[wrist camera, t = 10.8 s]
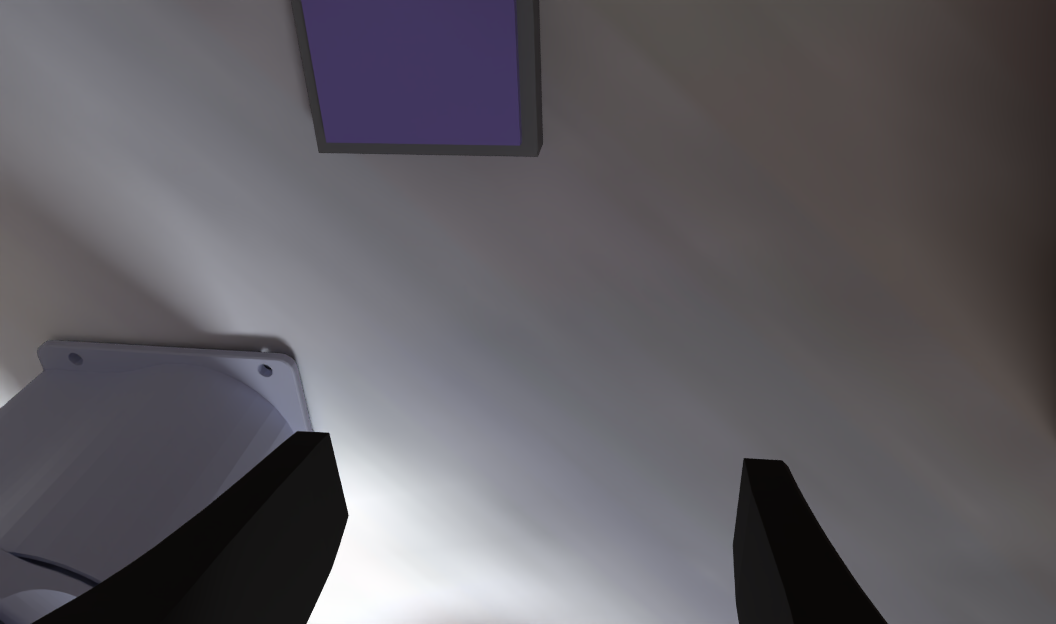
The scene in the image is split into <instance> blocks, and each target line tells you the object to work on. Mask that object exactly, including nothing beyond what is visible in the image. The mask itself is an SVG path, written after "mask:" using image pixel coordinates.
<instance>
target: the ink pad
mask: <svg viewBox="0 0 1056 624" xmlns="http://www.w3.org/2000/svg"><path fill="white" fill-rule="evenodd" d="M291 4H292V9H293V15H294V20H295V26H296V31H297V36H298V42H299V47H300V53H301V58H302V64H303V69H304V75H305V80H306V85H307V91H308V96H309V102H310V107H311V113H312V118H313V124H314V129H315V134H316V140H317V145H318V151H319V153H356V154H412V155H469V156H525V157H538V155H539V153H540V150H541V147H542V145H543V128H542V91H541V54H540V17H539V0H291Z"/></svg>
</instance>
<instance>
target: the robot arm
mask: <svg viewBox="0 0 1056 624" xmlns="http://www.w3.org/2000/svg"><path fill="white" fill-rule="evenodd" d="M37 354H38V357H39V360H40V362H41V364H42V366H43V369H44V371H43V372H42V373H41V374H39V375H38V376H37V377H36V378H35V379H34V380H32V381H31V382H30V383H29V384H28V385H27V386H26V387H24V388H23V389H22V390H21V391H20V392H19V393H18V394H16V395H15V396H14V397H13V398H12V399H11V400H9V401H8V402H7V403H6V404H5V405H4V406H3V407H1V408H0V624H307V621H308V619H309V617H310V615H311V613H312V611H313V609H314V607H315V604H316V602H317V600H318V598H319V596H320V593H321V591H322V589H323V587H324V585H325V583H326V580H327V578H328V576H329V574H330V571H331V569H332V567H333V564H334V561H335V558H336V555H337V552H338V549H339V546H340V542H341V539H342V536H343V532H344V529H345V526H346V523H347V519H348V516H349V515H348V511H347V506H346V502H345V498H344V494H343V489H342V485H341V481H340V477H339V472H338V468H337V464H336V460H335V455H334V451H333V447H332V443H331V438H330V434H329V433H323V432H313V431H312V426H311V422H310V418H309V414H308V409H307V405H306V401H305V396H304V392H303V388H302V384H301V379H300V375H299V371H298V366H297V364H296V362H295V361H294V360H293V359H292V358H291V357H290V356H288V355H286V354H281V353H267V352H249V351H232V350H214V349H197V348H179V347H162V346H145V345H127V344H110V343H92V342H75V341H57V340H49V341H46V342H45V343H43V344H42V345H41V346H40V347H38V350H37ZM78 355H79V356H78ZM80 356H81V357H80ZM263 364H265V365H268V366H269V367H270V368H271V369H272V370H269V369H267V368H266V367H264V365H263ZM733 558H734V578H735V595H736V607H737V613H738V620H739V624H888V623H887V622H886V621H885V619H884V618H883V617H882V615H881V614H880V613H879V611H878V610H877V609H876V607H875V606H874V605H873V603H872V602H871V601H870V599H869V598H868V597H867V595H866V594H865V593H864V591H863V590H862V588H861V587H860V586H859V584H858V583H857V581H856V580H855V578H854V577H853V576H852V574H851V573H850V571H849V570H848V568H847V567H846V565H845V564H844V562H843V561H842V559H841V558H840V556H839V554H838V553H837V551H836V550H835V548H834V547H833V545H832V544H831V542H830V541H829V539H828V538H827V536H826V534H825V533H824V531H823V530H822V528H821V526H820V525H819V523H818V521H817V519H816V518H815V516H814V514H813V513H812V511H811V509H810V507H809V506H808V504H807V502H806V500H805V499H804V497H803V495H802V493H801V491H800V489H799V487H798V486H797V484H796V482H795V480H794V478H793V476H792V474H791V472H790V469H789V467H788V466H787V465H786V464H785V463H784V462H783V461H782V460H766V459H749V458H744V460H743V468H742V476H741V484H740V492H739V500H738V508H737V516H736V524H735V532H734V540H733Z"/></svg>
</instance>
